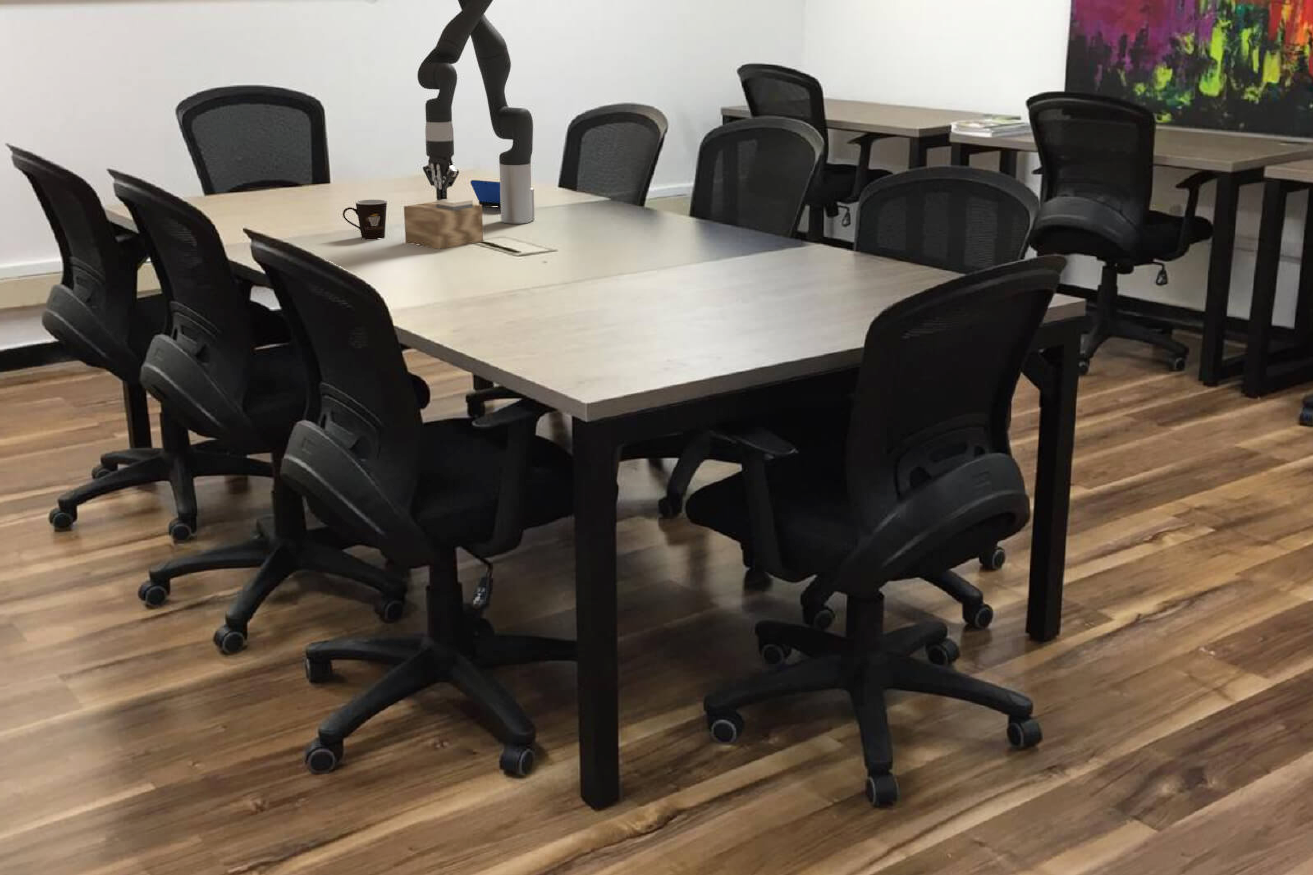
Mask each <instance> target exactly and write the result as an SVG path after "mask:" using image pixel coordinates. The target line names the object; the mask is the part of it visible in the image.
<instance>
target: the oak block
mask: <svg viewBox="0 0 1313 875" xmlns="http://www.w3.org/2000/svg"><path fill="white" fill-rule="evenodd" d="M403 215H404V216H403V217H404V233H405V234H404V237H405V243H406V244H410V243H414V244H413V245H416V244H419V245H418V246H421V245H422V247H426V246H427V248H432V249H436V248H438V250H440V248H442V249H447V248H452V247H458V246H463V244H464V245H468V244H467V243H469V244H474V243H480V242H484V228H483V227H484V225H483V222H484V221H483V207H482V205H479V203H478V204H477V203H473V208H466V209H460V210H447V209H441V208H436V201H430V202H424V203H418V204H417V203H415V204H411V205H404V206H403Z"/></svg>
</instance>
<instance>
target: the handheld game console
mask: <svg viewBox="0 0 1313 875" xmlns="http://www.w3.org/2000/svg"><path fill="white" fill-rule="evenodd" d="M470 185H471V186H472V190H473V191H474V194H475V196H476V198H477V200H478V204H479V205H482V206H498V207H501V200H500V181H490V180H489V181H488V180H479V179H472V180H470Z"/></svg>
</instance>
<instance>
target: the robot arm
mask: <svg viewBox="0 0 1313 875" xmlns="http://www.w3.org/2000/svg"><path fill="white" fill-rule="evenodd" d="M493 1H494V0H457V2H458V4H459V6H460V9H461V10H460V11H459V13H457V15H455V16H453V18H452V19H451V20H450V21H449V22H448V23H447V24H446V26H444V28H443V30H442V31H441V34H440V36H439V38H438V41H437V43H436V45H435V47H434V48H433V49H432V50H431V51H430V52H429V54H427V56H426V57H425V58H424V59H423V61H422V62H421V64H420V65H419V67H418V70H417V81H418V84H419V85H420V86H421V87H422V88H423V89H427V90H439V91H438V94H437V96H436V97H434V98H430V99H428V100H426V102H425V104H424V105H425V109H424V110H425V131H424V132H425V134H424V135H425V155H426V156H427V157H428V162H427V165H425V166H423V167H422V171H423V172H424V175H425V176H426V178H427V180H428V182H429V184H430V186H433V187H434V188H435V190H436V191H435V192H436V200H441V199H448V188H451V187H452V186H453V185H454V183H455V181H456V180H457V178H458V176H459V174H460V170H459V169H455V167H454V163H453V159H452V158H453V156H454V155H455V143H454V139H455V138H454V137H455V136H454V127H453V113H452V112H453V111H452V107H453V102H454V96H455V92H456V89H457V88H456V87H457V84H458V74H457V70H456V68H455V67H454V66H453V65H454V64H456V63H458V62H459V60H460V59H461V56H462V53H463V51H464V49H465V47H466V45H467V42H468V40H469V38H471V41H472V45H473V50H474V54H475V58H476V62H477V65H478V68H479V72H480V75H481V78H482V82H483V87H484V91H485V95H486V99H487V104H488V111H489V118H490V121H491V122H490V123H491V125H492V127H491V128H492V130H493V133H494V134H495V136H496V137H498V138H499V139H502V140H510V141H511V140H512V146H511V148H509V149H508V150H506V151H503V152H501V153H500V154H499V156H498V158H499V159H498V162H499V164H498V168H499V182H500V200H501V208H500V221H501V223H504V224H511V225H512V224H513V225H514V224H515V225H516V224H527V223H531V222H533V221H535V189H534V188H533V187H532V168H531V167H532V162H531V160H532V154H533V149H534V148H533V146H534V145H533V144H534V143H533V141H534V139H533V138H534V120H533V116H532V113H531V112H530V111H529V110H528V109H527V108H522V107H509V105H508V103H507V99H506V93H505V92H506V90H505V89H506V84H507V82H508V79H509V75H510V73H511V68H512V64H511V63H512V61H511V57H510V54H509V49H508V45H507V43H506V41H505V38H504V37H503V36H502V34H501V33H500V32H499V31H498V30H497V29H496V27H495V26H494V25H493V23H491V22H490V20H489V19H488V18H487V17H486V15H485V14H486V12H487V10H488V9H489V7H490V6H491V4H492V2H493ZM532 220H533V221H532Z"/></svg>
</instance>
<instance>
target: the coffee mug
mask: <svg viewBox="0 0 1313 875" xmlns="http://www.w3.org/2000/svg"><path fill="white" fill-rule="evenodd" d="M387 206H388V201H387V200H385V199H362V200H357V201H355V207H356V208H355V207H352V206H351V207H349V206H348V207H346V208H344V209H343V212H342V217H343V219H344V220H345V221H346V222H347V223H348V224H350V225H352V226H353V227H356V228H357V229H358V230H359V231H360V235H361V239H362V238H365V239H364V240H367V239H376V240H379V239H378V238H383V239H384V238H386V220H387ZM349 210H351V211H353V212H354V213H355V214H356V215H357V219H358V225H359V226H358V225H357V224H355V223H354V222H351V221H350V220H348V218H346V215H345V214H346V212H347V211H349Z"/></svg>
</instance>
